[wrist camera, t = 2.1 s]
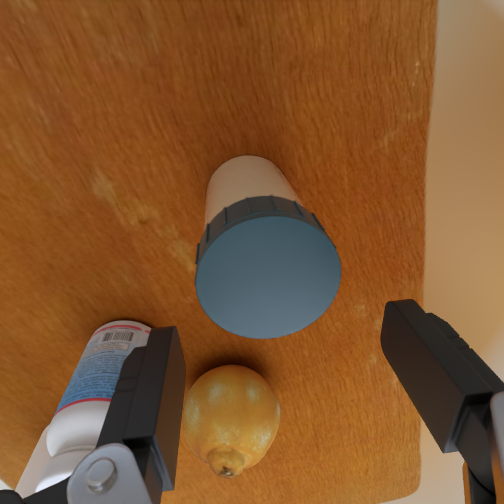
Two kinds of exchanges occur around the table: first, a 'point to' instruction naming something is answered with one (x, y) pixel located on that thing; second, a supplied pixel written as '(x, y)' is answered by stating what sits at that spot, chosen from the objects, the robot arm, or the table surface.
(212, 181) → the jar
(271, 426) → the fruit
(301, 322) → the lid
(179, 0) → the table surface
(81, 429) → the pill bottle
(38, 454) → the mug
